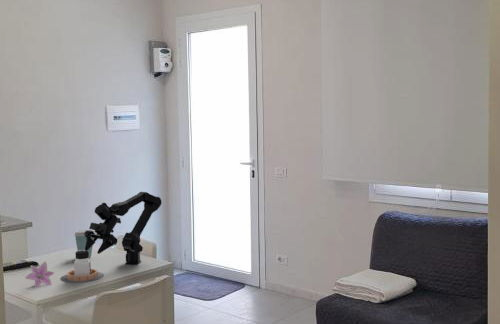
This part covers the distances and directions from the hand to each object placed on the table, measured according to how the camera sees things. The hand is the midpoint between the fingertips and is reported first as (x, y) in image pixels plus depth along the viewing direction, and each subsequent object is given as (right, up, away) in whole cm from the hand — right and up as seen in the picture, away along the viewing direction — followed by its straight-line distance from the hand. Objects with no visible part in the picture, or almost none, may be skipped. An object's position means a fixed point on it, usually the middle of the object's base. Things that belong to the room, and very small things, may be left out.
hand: (91, 252), depth 285 cm
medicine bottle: (-3, -11, -4) cm, 12 cm away
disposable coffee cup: (-13, -9, +35) cm, 38 cm away
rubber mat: (-3, -12, -4) cm, 13 cm away
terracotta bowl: (-3, -11, -4) cm, 12 cm away
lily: (-19, -13, -16) cm, 28 cm away
